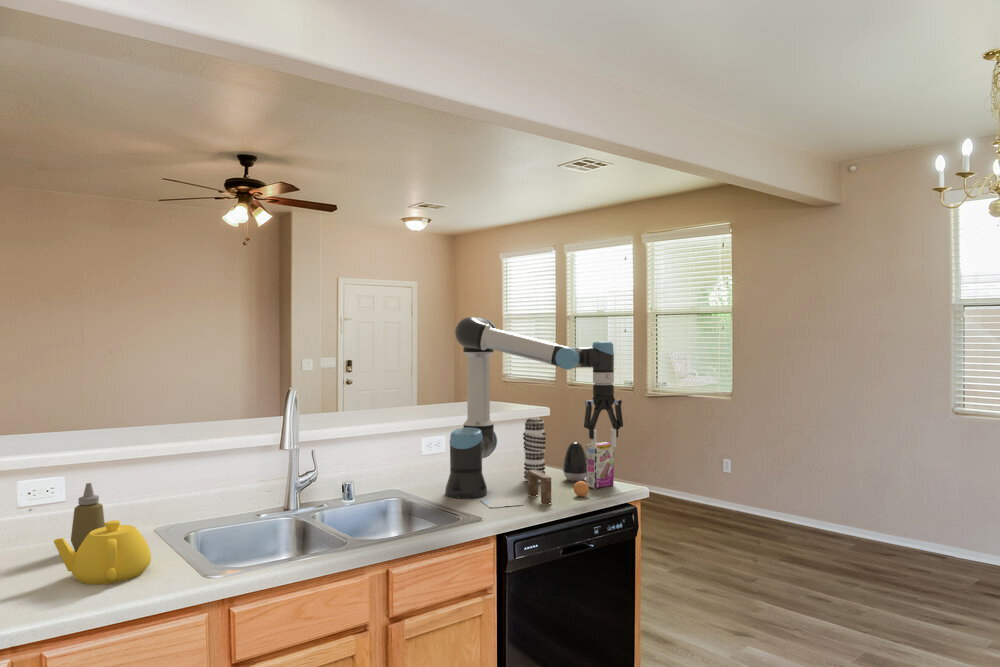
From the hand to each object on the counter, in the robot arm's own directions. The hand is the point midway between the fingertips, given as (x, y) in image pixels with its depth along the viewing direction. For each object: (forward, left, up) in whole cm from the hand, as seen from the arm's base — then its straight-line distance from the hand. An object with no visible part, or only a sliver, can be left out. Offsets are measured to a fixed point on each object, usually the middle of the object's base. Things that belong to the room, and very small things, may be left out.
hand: (603, 447), depth 243 cm
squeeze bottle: (+15, -160, -17) cm, 162 cm away
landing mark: (0, -39, -17) cm, 43 cm away
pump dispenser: (-27, +1, -17) cm, 32 cm away
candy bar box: (-13, +5, -17) cm, 22 cm away
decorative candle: (-31, -15, -17) cm, 39 cm away
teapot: (+39, -151, -17) cm, 157 cm away
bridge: (0, -25, -17) cm, 30 cm away
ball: (0, -9, -14) cm, 17 cm away
